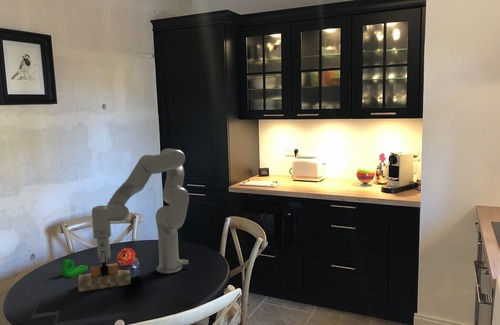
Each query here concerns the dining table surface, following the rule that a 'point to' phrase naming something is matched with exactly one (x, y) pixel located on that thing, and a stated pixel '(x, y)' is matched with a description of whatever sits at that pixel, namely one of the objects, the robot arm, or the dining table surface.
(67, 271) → the mechanical part
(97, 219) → the robot arm
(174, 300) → the dining table surface
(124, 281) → the rail
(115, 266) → the brown piece
